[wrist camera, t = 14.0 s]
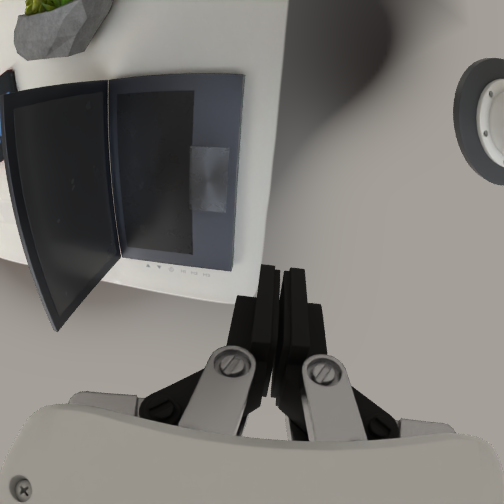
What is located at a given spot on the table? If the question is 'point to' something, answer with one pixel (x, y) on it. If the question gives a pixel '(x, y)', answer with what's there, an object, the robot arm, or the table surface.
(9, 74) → the game console
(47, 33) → the potted plant
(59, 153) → the laptop screen
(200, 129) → the laptop
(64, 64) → the table surface
